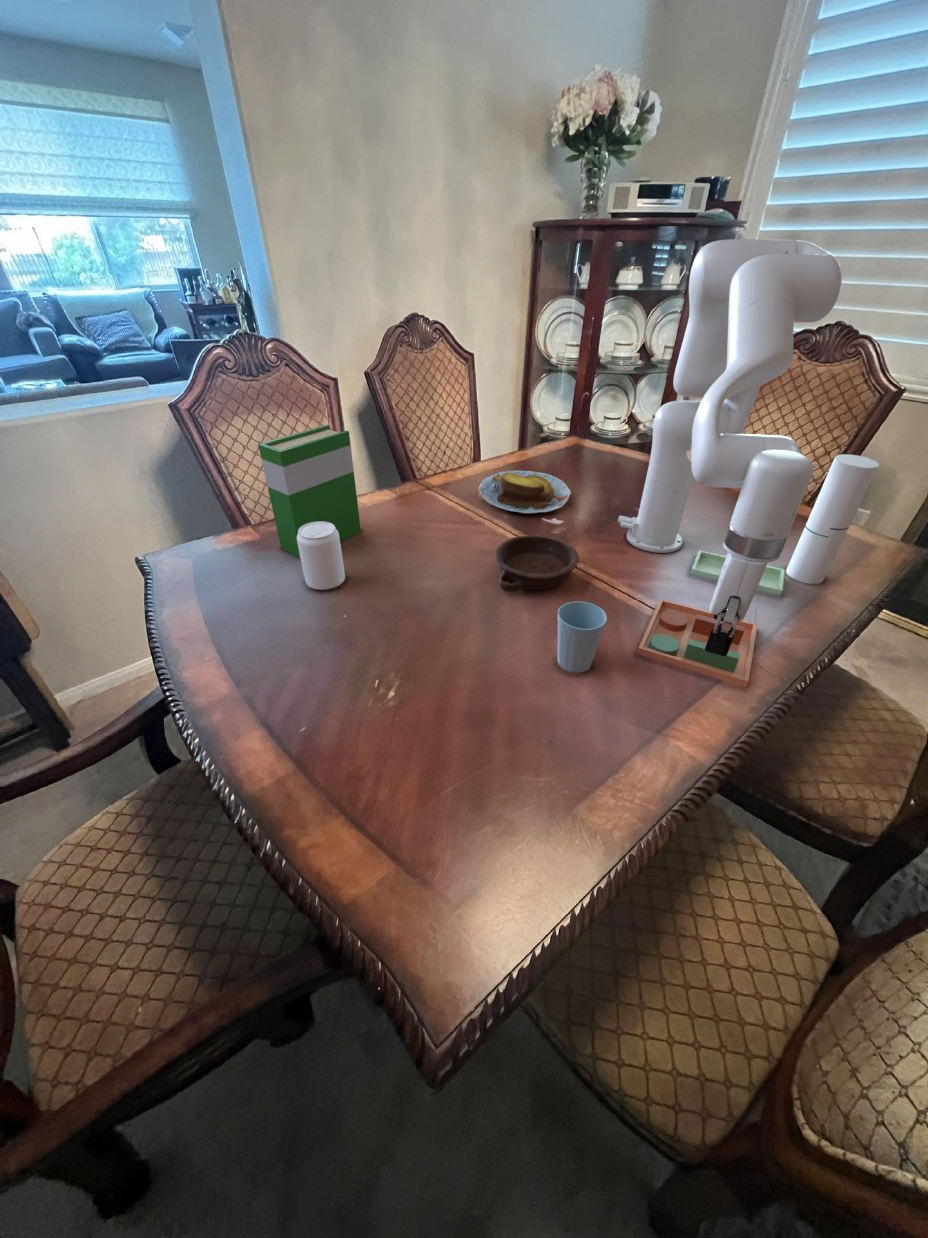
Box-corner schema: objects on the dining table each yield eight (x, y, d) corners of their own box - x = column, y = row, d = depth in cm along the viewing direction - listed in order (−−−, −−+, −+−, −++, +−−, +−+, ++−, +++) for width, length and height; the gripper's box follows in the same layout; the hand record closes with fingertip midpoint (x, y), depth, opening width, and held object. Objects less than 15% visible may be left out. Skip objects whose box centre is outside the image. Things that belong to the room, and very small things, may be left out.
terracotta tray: (636, 656, 91) (638, 647, 90) (657, 606, 104) (660, 598, 102) (744, 690, 85) (748, 681, 83) (754, 632, 97) (757, 624, 96)
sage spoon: (646, 652, 91) (649, 638, 89) (652, 637, 94) (655, 623, 93) (732, 678, 86) (738, 665, 84) (735, 661, 89) (741, 648, 87)
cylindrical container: (828, 585, 110) (886, 469, 95) (791, 581, 111) (843, 465, 96) (817, 568, 116) (870, 455, 101) (782, 565, 117) (829, 453, 102)
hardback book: (340, 522, 132) (326, 424, 118) (360, 531, 129) (348, 431, 114) (281, 548, 121) (258, 444, 107) (301, 559, 117) (280, 452, 103)
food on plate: (573, 485, 153) (576, 463, 149) (566, 522, 133) (569, 498, 129) (487, 476, 157) (488, 455, 153) (468, 511, 138) (469, 488, 134)
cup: (589, 685, 85) (599, 634, 79) (544, 671, 88) (551, 620, 82) (602, 658, 91) (612, 609, 85) (559, 645, 93) (566, 596, 87)
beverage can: (353, 576, 112) (346, 525, 104) (330, 595, 106) (320, 542, 99) (322, 568, 114) (313, 517, 107) (297, 586, 108) (286, 533, 101)
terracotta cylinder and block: (656, 626, 97) (660, 613, 95) (661, 613, 100) (665, 600, 99) (737, 650, 92) (743, 636, 90) (740, 635, 95) (746, 622, 93)
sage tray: (689, 576, 113) (691, 568, 112) (696, 557, 119) (698, 549, 118) (779, 598, 106) (782, 590, 105) (781, 577, 113) (784, 569, 112)
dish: (594, 566, 116) (598, 545, 113) (544, 612, 102) (546, 590, 99) (526, 542, 124) (528, 523, 121) (471, 582, 110) (471, 561, 107)
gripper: (732, 513, 83) (703, 603, 93) (718, 560, 71) (685, 659, 80) (785, 523, 80) (749, 615, 90) (780, 574, 68) (738, 674, 78)
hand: (719, 636), depth 85 cm, fingers open, 9 cm apart
